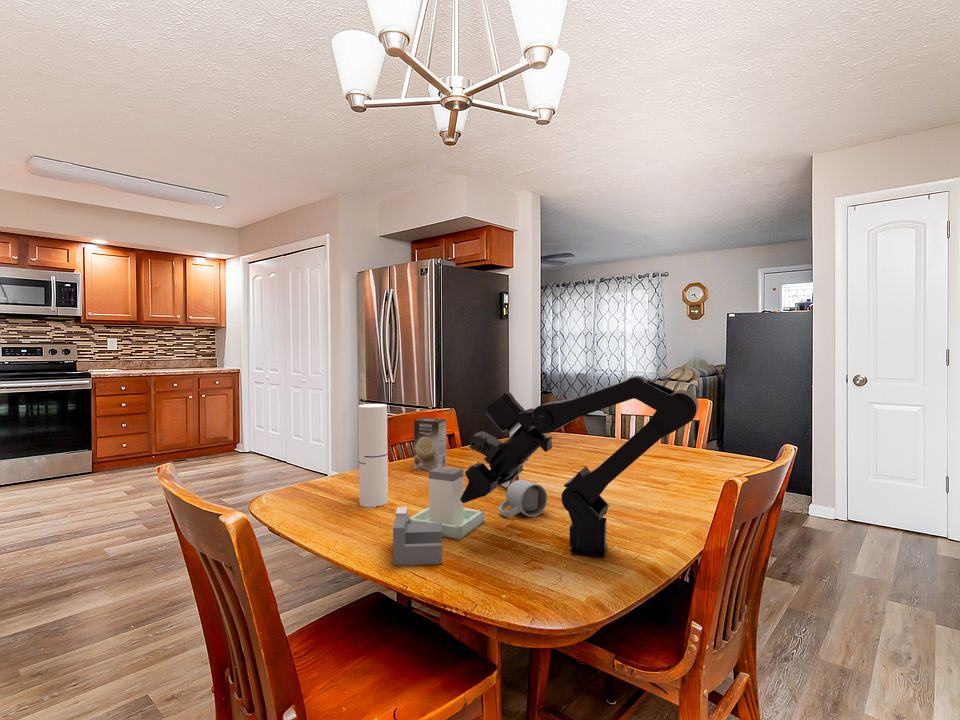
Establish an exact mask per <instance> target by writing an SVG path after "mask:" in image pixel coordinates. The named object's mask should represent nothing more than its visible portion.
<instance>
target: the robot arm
mask: <svg viewBox="0 0 960 720" xmlns="http://www.w3.org/2000/svg"><path fill="white" fill-rule="evenodd" d="M630 400H637V401H639V402H641V403H643V404H644V405H646V406H648V407H650V408H651V409H653V410H654V411H655V412H654V413H653V414H652V416H651V417H650V419H649V420H648V421H647V423H646V424H645V425H643V427H641V428H640V429H639V430H638V431H637V432H636V433H635V434H633V436H631V437H630V438H629V439H628V440H627V441H626V442H624V444H622V445H621V446H620V447H619V448H618V449H617V450H615V452H613V453H612V454H611V455H610V456H609V457H608V458H607V459H606V460H604V461H603V462H602V463H601V464H600V465H599V466H598V467H596V468H594V469H592V470H590V469H589V468H588V466H586V465H585V466H584V467H583V468H582V469H581V470H579V471H578V472H577V473H576V475H575V476H573V477H572V478H571V479H569V480H568V481H566V483H565V484H564V485H563V487H565V488H564V490H562V492H561V495H560V496H561V503H562V505H563V507H564V509H565V510H566V511H567V512H568V515H569V518H570V522H571V524H570V525H569V547H570V548H571V549H570V554H572V555H577V556H578V555H579V556H586V557H595V558H596V557H597V558H606V553H607V550H608V543H607V518H606V517H604V516H606V514H607V512H608V510H609V507H610V506H609V504H608V502H607V501H606V500H605V499H604V498H603V497H602V496H601V495H602V493H603V492H604V491H605V490H606V488H607V487H608V485H609V484H610V483H611V482H613V480H615V479H617V477H618V476H619V475H621V474H622V473H623V472H624V471H625V470H626V469H627V468H628V467H630V466H631V465H632V464H633V463H634V462H635V461H637V459H639V458H640V457H641V456H642V455H644V453H646V452H647V451H648V450H650V449H651V448H652V447H653V446H654V445H655V444H656V443H657V442H658V441H659V440H661V439H662V438H664V437H666V436H669V435H670V434H672V433H674V432H676V431H678V430H680V429H681V428H683V427H685V426H686V425H688V424H690V423H691V422H692V421H693V420H694V418H695V417H696V415H697V413H698V410H699V401H698V398H697V397H696V395H695V394H693V393H692V392H690V391H687V390H684V389H683V390H681V389H677V390H674V389H671V388H670V387H667V386H664V385H662V384H658V383H656V382H653V381H652V380H648V379H646V378H645V377H644V376H642V375H635V376H632V377H630V378H628V379H627V380H625V381H622V382H618V383H617V384H613V385H610V386H607V387H605V388H601V389H599V390H597V391H593V392H591V393H588V394H585V395H583V396H579V397H576V398H569V399H561V400H557V401H556V400H555V401H550V402H549V401H548V402H546V403H543V404H540V405H538V406H536V407H535V408H529V409H524V407H523V406H522V405H521V404H520V403H519V402H518V401H517V400H516V399H515V396H513V394H512V393H511V392H510V391H507V392H504V393H503V394H502V395H501V396H500V397H497V399H496V400H494V401H493V402H491V403H490V404H489V405H488V406H487V407H486V409H485V410H484V414H485V415H486V416H487V417H488V418H489V419H490V420H491V422H492V423H494V425H495V426H496V427H497V428H498V429H499V431H501V432H502V433H505V432H508V433H509V434H510V433H512V432H513V431H515V432H513V433H512V435H510V437H508V438H507V439H506V440H505V441H504V442H503V441H501V440H500V439H498V438H496V437H495V436H493V435H491V434H490V433H488V432H486V431H483V430H482V431H479V432H476V433H474V435H473V436H472V438H470V439H469V443H470V445H469V449H471V450H473V451H476V452H477V453H479V454H481V455H483V456H485V457H484V459H483V460H484V461H485V462H486V463H487V464H489V468H491V469H489V468H488V467H487V465H486V464H485V463H483V462H477V463H475V464H473V465H471V466H469V467H468V468H467V470H466V471H464V473H465V477H466V478H467V481H468V483H467V485H466V487H465V490H463V495H462V497H461V499H460V500H461V502H462V503H463V504H466V503H468V502H470V501H474V500H477V499H480V498H483V497H486V496H488V495H490V494H491V493H492V492H493V491H494V490H495V489H496V488H497V487H498V486H500V484H503V483H505V482H508V481H510V480H512V479H513V478H515V477H516V476H518V475H519V476H520V475H521V473H522V472H523V471H524V464H526V463H527V461H529V458H530V457H531V456H532V455H533V454H534V453H535V452H536V451H537V450H538V449H539V448H541V449H542V451H544V452H545V453H546V452H548V451H550V450H553V436H547V435H546V434H550V433H553V432H555V431H557V430H560V429H561V428H563V427H565V426H566V425H568V424H569V423H571V422H573V421H575V420H577V419H579V418H580V417H582V416H586V415H589V414H592V413H594V412H597V411H600V410H603V409H606V408H609V407H612V406H615V405H618V404H621V403H624V402H627V401H630ZM517 428H518V429H517Z"/></svg>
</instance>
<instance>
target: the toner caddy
mask: <svg viewBox="0 0 960 720" xmlns="http://www.w3.org/2000/svg"><path fill="white" fill-rule="evenodd" d="M463 493H464V469H463V468H458V467H456V468H455V467H447V466H446V467H441V466H440V467H437V468H435V469H433V470H430V471H428V507H429V521H432V522H438V523H444V524H450V525H456V526H458V525H459V524H461V523H462V522H463V508H464V503H462V502H461V500H460V499H461V497H462V495H463Z"/></svg>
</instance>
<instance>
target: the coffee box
mask: <svg viewBox="0 0 960 720" xmlns="http://www.w3.org/2000/svg"><path fill="white" fill-rule="evenodd" d="M440 466H441V467H447V419H446V418H445V419H443V418H436V417H435V418H434V417H433V418H432V417H420V418H417V419H414V420H413V469H414V470H419V471H425V472H426V471H428V472H429V471H430V470H433V469H435V468H437V467H440Z"/></svg>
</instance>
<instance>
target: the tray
mask: <svg viewBox="0 0 960 720" xmlns="http://www.w3.org/2000/svg"><path fill="white" fill-rule="evenodd" d="M423 523H438V522H432V521H429V506H428V507H426V508H424V509H423V510H421V511H418V513H416V514H413V515H411V516H410V517H408V524H423ZM483 523H485V511H484V510H478V509H472V508H466V507H463V522H462V523H461V524H459V525H458V526H456V525H450V524H444V523H442V538H447V537H449V538H448V539H452V538H454V540H459V541H460V540H462V539H464V537H466V536H467V535H468V534H470V533H471V532H472V531H474V530H475V529H477V528H478V527H480V525H482V524H483Z"/></svg>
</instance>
